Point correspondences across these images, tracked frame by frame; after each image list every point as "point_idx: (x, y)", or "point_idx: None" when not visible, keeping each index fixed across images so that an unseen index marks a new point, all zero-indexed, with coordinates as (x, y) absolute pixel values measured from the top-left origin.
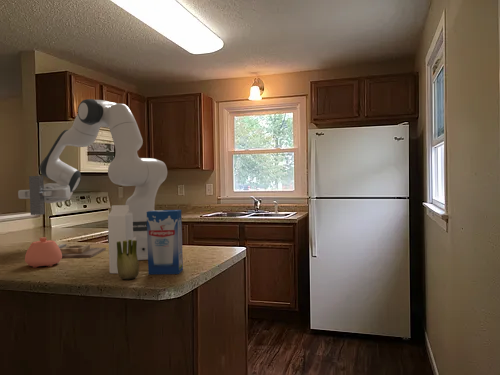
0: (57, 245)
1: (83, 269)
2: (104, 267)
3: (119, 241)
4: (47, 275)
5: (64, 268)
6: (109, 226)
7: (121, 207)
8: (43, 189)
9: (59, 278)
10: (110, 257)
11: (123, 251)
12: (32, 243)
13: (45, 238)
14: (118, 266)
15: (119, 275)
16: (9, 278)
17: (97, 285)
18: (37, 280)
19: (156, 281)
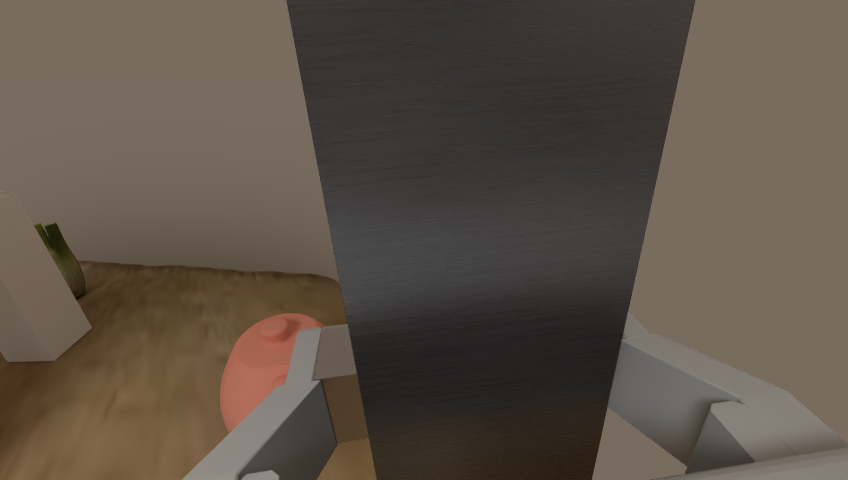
0: (225, 372)
1: (154, 359)
2: (83, 383)
3: (47, 224)
4: (249, 308)
5: (214, 367)
6: (28, 222)
7: None
8: (357, 364)
9: (216, 293)
10: (70, 295)
11: (51, 243)
12: (311, 317)
13: (262, 324)
14: (79, 268)
15: (84, 287)
16: (331, 287)
17: (142, 267)
18: (261, 280)
19: None
